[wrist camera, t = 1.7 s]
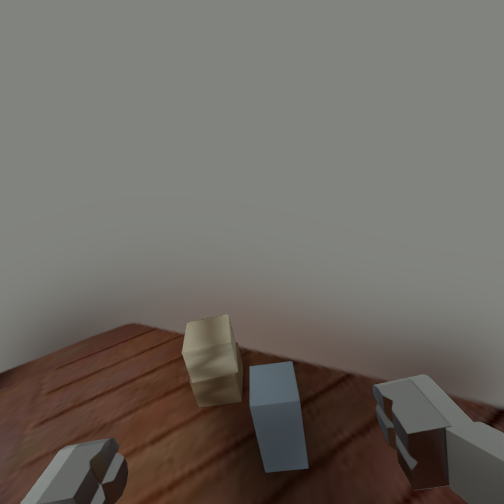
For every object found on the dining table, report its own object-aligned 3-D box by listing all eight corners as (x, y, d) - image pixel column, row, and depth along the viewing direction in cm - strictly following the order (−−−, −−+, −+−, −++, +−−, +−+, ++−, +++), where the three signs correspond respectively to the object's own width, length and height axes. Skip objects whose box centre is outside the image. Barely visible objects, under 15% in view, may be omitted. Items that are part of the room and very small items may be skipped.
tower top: (192, 383, 32) (181, 353, 30) (195, 349, 38) (187, 322, 36) (238, 372, 33) (230, 341, 31) (235, 340, 38) (228, 313, 36)
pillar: (265, 472, 26) (249, 406, 22) (263, 428, 30) (249, 366, 27) (308, 468, 26) (299, 400, 22) (300, 424, 30) (292, 361, 26)
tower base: (198, 407, 34) (189, 381, 33) (206, 372, 40) (198, 347, 38) (242, 402, 34) (235, 375, 32) (243, 367, 40) (237, 342, 38)
